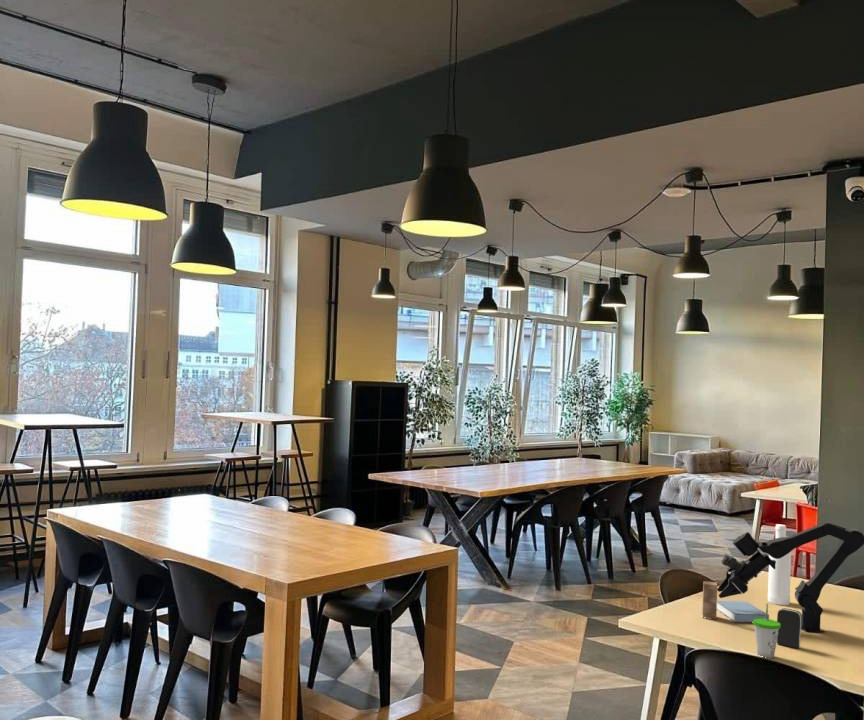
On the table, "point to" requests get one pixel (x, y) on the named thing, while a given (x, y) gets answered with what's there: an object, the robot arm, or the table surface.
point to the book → (740, 611)
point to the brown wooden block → (709, 599)
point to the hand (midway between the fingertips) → (718, 593)
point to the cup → (766, 635)
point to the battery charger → (789, 627)
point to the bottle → (780, 575)
